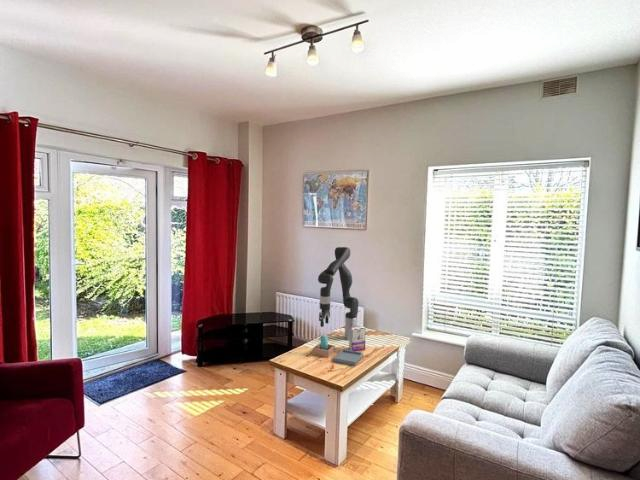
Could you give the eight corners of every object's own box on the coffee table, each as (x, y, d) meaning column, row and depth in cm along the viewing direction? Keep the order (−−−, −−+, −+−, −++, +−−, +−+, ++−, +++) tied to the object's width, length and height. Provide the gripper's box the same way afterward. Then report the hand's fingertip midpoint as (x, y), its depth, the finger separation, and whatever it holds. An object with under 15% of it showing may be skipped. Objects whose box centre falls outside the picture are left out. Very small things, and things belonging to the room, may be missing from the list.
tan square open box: (319, 348, 249) (319, 342, 249) (334, 351, 244) (335, 345, 244) (312, 354, 238) (312, 348, 238) (328, 357, 233) (328, 351, 233)
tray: (342, 352, 243) (342, 349, 243) (362, 356, 237) (363, 352, 237) (333, 361, 226) (333, 358, 226) (354, 365, 220) (355, 362, 220)
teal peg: (322, 351, 244) (322, 334, 244) (328, 352, 242) (328, 335, 242) (319, 353, 240) (319, 336, 239) (325, 354, 238) (326, 337, 237)
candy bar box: (362, 347, 253) (362, 325, 252) (365, 349, 249) (366, 327, 248) (348, 349, 249) (349, 327, 248) (351, 351, 244) (352, 329, 244)
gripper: (324, 299, 247) (323, 321, 248) (316, 303, 234) (315, 326, 235) (333, 300, 244) (333, 323, 245) (326, 304, 231) (325, 328, 232)
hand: (324, 325), depth 240 cm, fingers open, 8 cm apart
